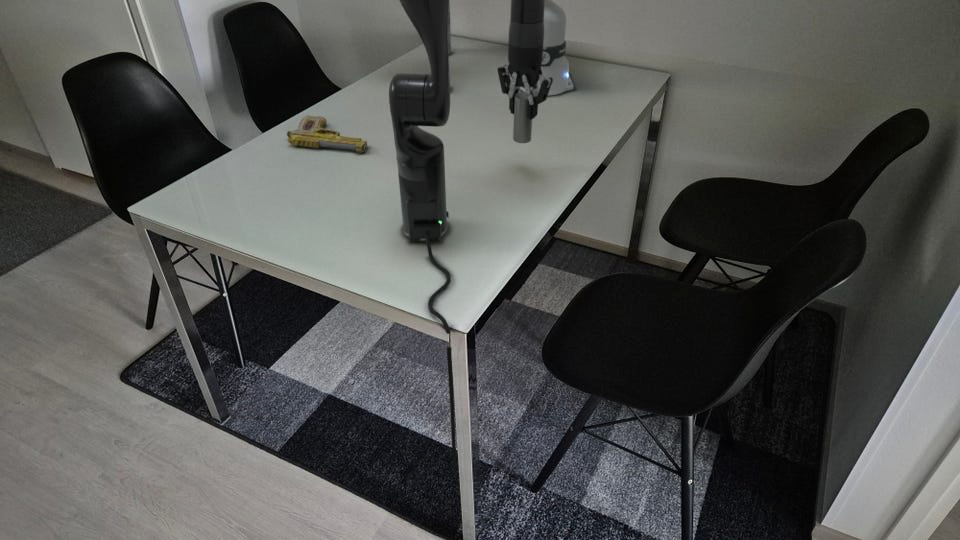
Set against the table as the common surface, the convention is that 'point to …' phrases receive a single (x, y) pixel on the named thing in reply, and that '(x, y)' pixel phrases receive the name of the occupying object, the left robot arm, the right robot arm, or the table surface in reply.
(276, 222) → the table surface
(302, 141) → the handgun
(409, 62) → the table surface
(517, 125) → the can
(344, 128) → the table surface
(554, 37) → the right robot arm
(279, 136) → the table surface
